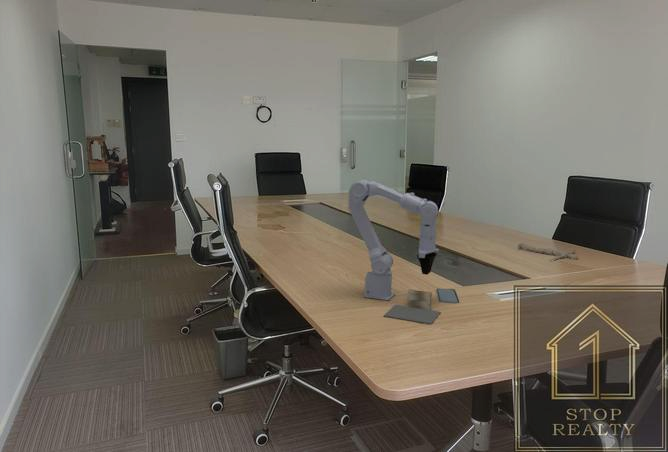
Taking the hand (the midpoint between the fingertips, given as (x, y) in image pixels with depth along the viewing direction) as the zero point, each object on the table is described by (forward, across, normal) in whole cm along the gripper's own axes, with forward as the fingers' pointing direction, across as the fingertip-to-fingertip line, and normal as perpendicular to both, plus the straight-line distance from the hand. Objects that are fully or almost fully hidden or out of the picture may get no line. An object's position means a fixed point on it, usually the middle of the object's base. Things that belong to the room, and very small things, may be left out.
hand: (426, 273), depth 178 cm
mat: (+10, -16, 0) cm, 19 cm away
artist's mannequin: (+11, +100, -36) cm, 107 cm away
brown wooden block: (+10, -8, 0) cm, 13 cm away
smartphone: (+11, +9, -6) cm, 15 cm away
